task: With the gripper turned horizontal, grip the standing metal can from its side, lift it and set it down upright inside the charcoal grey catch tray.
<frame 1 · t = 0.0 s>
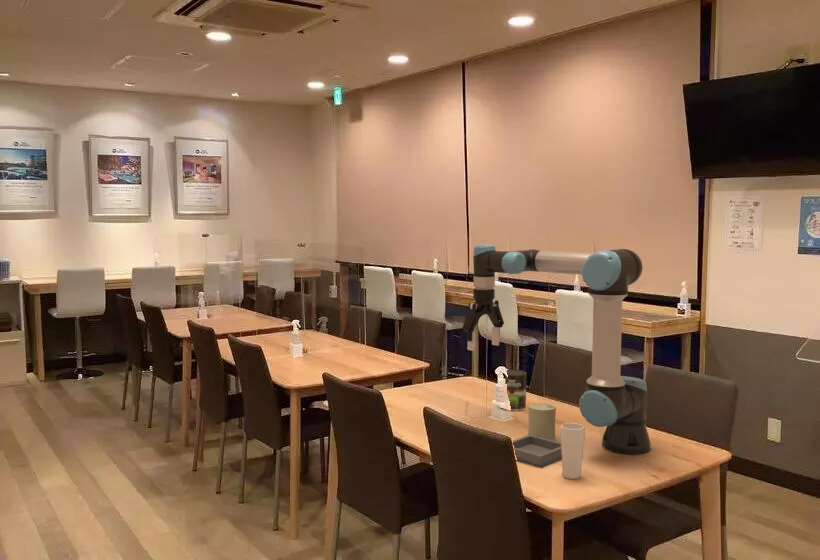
hand: (483, 347, 263), 28 cm above the table, tool pointing down, fingers open, 13 cm apart
drinking glass: (571, 477, 214), on the table
coffee can: (512, 408, 287), on the table
catch tray: (534, 455, 232), on the table
can: (541, 440, 248), on the table
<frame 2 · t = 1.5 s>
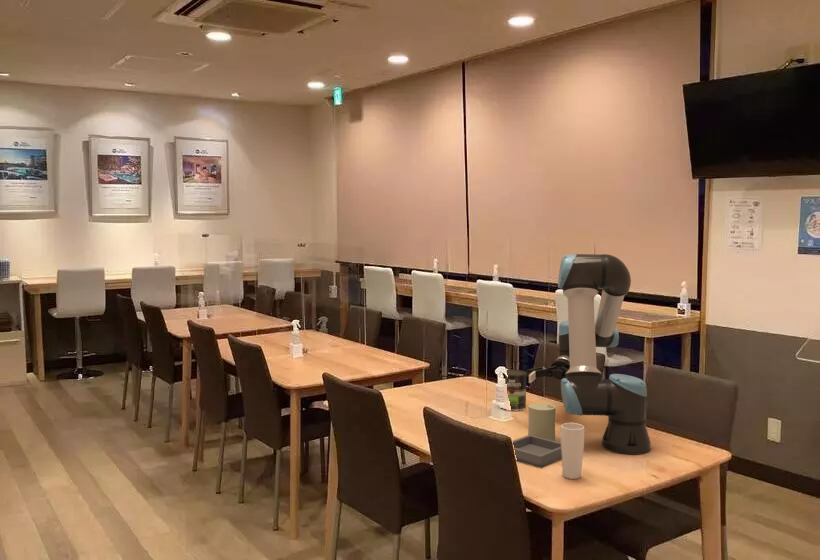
hand: (549, 381, 254), 18 cm above the table, tool horizontal, fingers open, 13 cm apart
nothing on the table moved.
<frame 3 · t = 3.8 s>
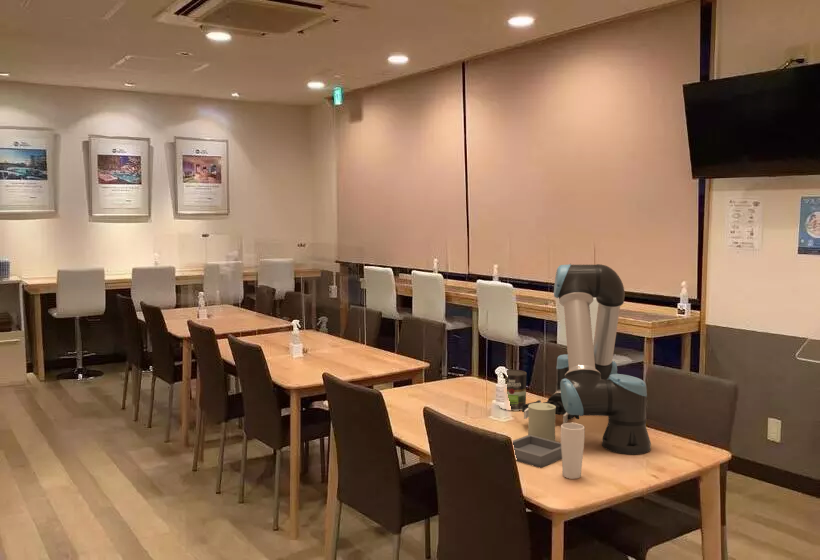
hand: (544, 417, 252), 6 cm above the table, tool horizontal, fingers open, 13 cm apart
nothing on the table moved.
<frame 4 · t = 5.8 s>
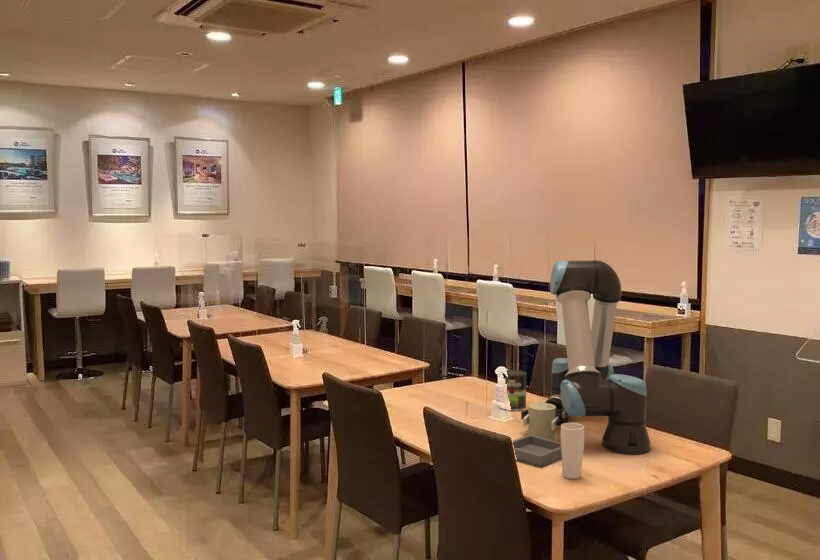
hand: (538, 424, 243), 7 cm above the table, tool horizontal, fingers closed on can, 9 cm apart
can: (541, 440, 248), on the table, touching gripper
everything else where it was.
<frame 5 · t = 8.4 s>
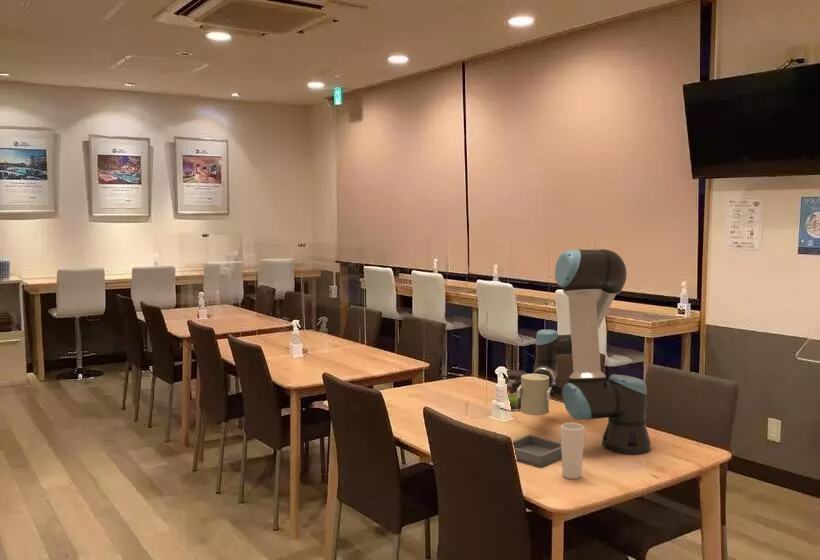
hand: (532, 395, 236), 18 cm above the table, tool horizontal, fingers closed on can, 9 cm apart
can: (534, 411, 241), point 11 cm above the table, touching gripper
everything else where it was.
when the fingers open (9 cm above the table, at t = 11.2 s): can drops 2 cm, resting on catch tray.
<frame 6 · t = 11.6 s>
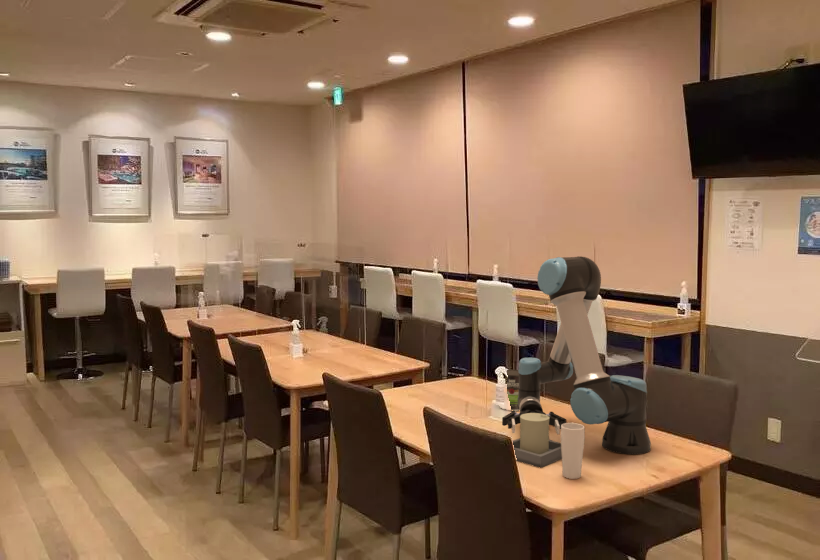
hand: (536, 429, 227), 10 cm above the table, tool horizontal, fingers open, 13 cm apart
can: (534, 453, 232), point 1 cm above the table, touching catch tray
everything else where it was.
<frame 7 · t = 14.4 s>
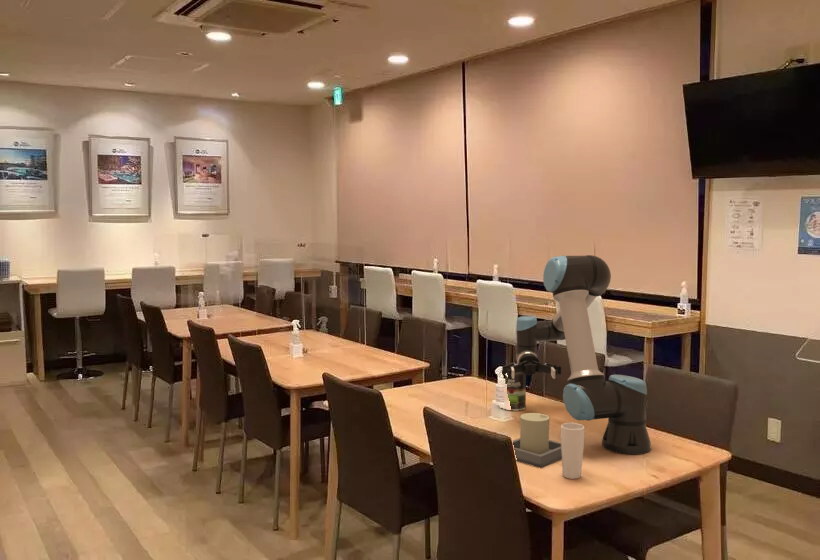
hand: (533, 374, 247), 22 cm above the table, tool horizontal, fingers open, 13 cm apart
nothing on the table moved.
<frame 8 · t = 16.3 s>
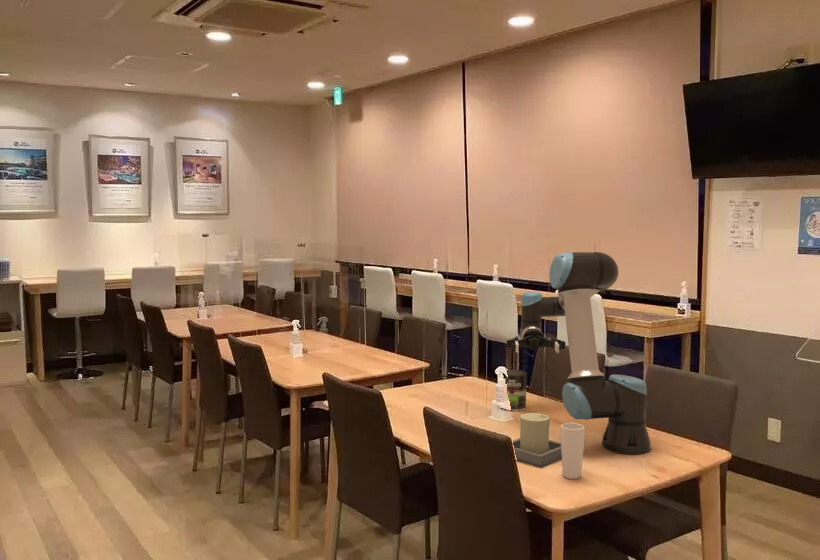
hand: (537, 349, 249), 30 cm above the table, tool horizontal, fingers open, 13 cm apart
nothing on the table moved.
at the end: can 0.2 cm off-centre on the catch tray, point 0.8 cm above the catch tray's base; can tilted 0°; the gripper is holding nothing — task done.
